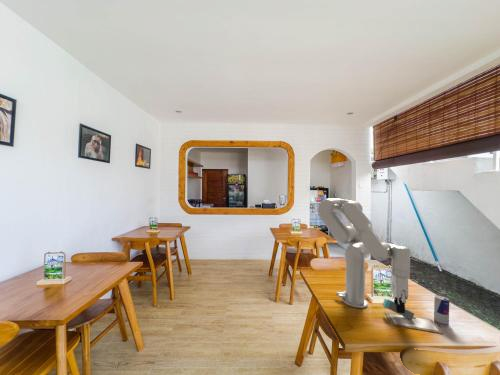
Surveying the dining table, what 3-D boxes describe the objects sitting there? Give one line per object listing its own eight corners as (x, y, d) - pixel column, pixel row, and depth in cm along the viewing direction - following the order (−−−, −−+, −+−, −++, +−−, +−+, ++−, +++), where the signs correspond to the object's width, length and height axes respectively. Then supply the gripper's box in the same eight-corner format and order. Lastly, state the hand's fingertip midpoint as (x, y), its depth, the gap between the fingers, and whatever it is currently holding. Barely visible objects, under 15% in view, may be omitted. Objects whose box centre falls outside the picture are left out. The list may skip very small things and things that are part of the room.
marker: (411, 320, 108) (384, 307, 112) (409, 317, 111) (382, 305, 115) (414, 312, 108) (387, 299, 112) (412, 310, 111) (385, 297, 115)
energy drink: (448, 328, 104) (449, 301, 104) (433, 323, 108) (434, 297, 108) (448, 323, 108) (449, 297, 108) (434, 318, 112) (435, 293, 112)
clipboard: (391, 325, 105) (391, 322, 105) (384, 312, 116) (384, 310, 116) (444, 334, 100) (444, 331, 100) (431, 320, 110) (431, 317, 110)
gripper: (386, 265, 120) (385, 301, 120) (397, 277, 105) (395, 318, 104) (403, 267, 118) (402, 303, 118) (416, 279, 102) (415, 321, 102)
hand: (399, 310), depth 111 cm, fingers closed on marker, 3 cm apart
